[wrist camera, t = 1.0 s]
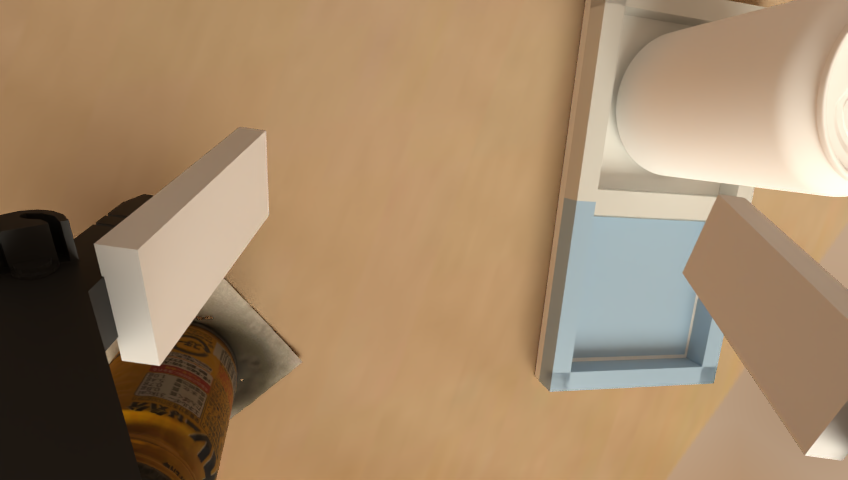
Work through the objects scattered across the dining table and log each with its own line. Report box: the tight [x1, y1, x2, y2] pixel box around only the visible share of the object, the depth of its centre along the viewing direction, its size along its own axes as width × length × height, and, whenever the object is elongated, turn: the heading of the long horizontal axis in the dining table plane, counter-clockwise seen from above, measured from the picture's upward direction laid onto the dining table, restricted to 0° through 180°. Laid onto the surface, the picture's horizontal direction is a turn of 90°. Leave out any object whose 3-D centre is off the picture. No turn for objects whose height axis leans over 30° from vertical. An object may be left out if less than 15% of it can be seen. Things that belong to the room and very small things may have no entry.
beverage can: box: [616, 0, 848, 197], centre depth 24 cm, size 8×8×12 cm
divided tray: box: [535, 0, 766, 392], centre depth 31 cm, size 23×12×2 cm, turn 175°
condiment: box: [105, 278, 302, 480], centre depth 21 cm, size 7×8×12 cm
